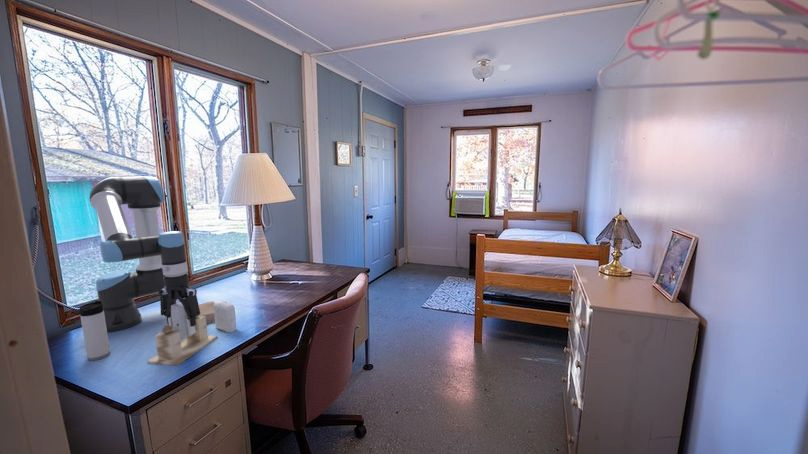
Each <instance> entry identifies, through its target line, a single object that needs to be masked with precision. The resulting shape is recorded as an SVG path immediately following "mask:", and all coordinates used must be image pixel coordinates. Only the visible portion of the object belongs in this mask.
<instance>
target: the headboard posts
mask: <svg viewBox="0 0 808 454" xmlns="http://www.w3.org/2000/svg"><path fill="white" fill-rule="evenodd" d="M195 318H196V325H195V330H196V333H194V334H192V335H191V336H188V337H185V338H182V339H180V331H171V330H172V328H171V326H169V325H168V324H167V325H164V326H163V327H162V329H161V331H160V332H158V333H157V334H155V335H154V336H155V337H154V339H155V344H156V350H157V351H156V352H157V353H156V355H154V356H153V357H150V359H148V360H147V361H146V363H147V364H154V365H155V364H157V365H166V366H179V365H181V364H182V363H184V362H186V361H187V360H188V359H190V358H191V357H192V356H194V355H196V353H199V352H200V351H201V350H202V349H204V348H205V347H207V346H208V345H210V344H211V343H212V342H214V341H215V340H217V339H218V335H208V334H209V333H208V326H207V325H208V323H207V324H206V316H196V317H195ZM186 359H187V360H186Z"/></svg>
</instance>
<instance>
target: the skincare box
mask: <svg viewBox="0 0 808 454" xmlns="http://www.w3.org/2000/svg"><path fill="white" fill-rule="evenodd" d="M187 318H188V316H187V314H186V311H185V309H184V306H183V305H182V303H181V302H180V301H178V302H176V303H175V304H173V305H171V319H172V328H173V331H180V339H181V340H182V339H184V338H186V337H188V328H187V320H186V319H187Z"/></svg>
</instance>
